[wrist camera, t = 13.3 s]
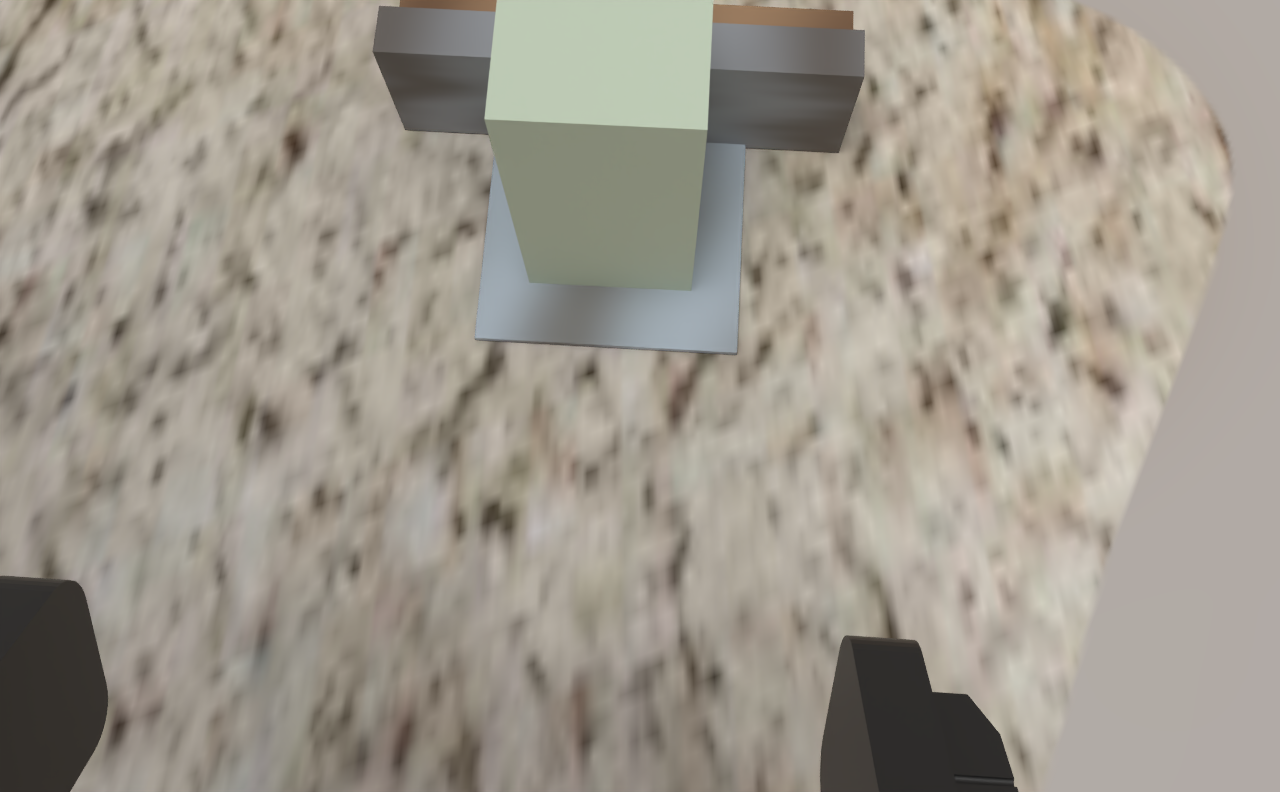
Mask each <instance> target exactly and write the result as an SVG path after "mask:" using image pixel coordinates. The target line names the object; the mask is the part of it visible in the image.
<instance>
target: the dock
mask: <svg viewBox="0 0 1280 792" xmlns="http://www.w3.org/2000/svg"><path fill="white" fill-rule="evenodd" d="M496 3H497V0H400V7H390V6H379V11H378V18H377V25H376V32H375V39H374V46H373V53H374V56H375V58H376V61H377V63H378V65H379V68H380V70H381V73H382V75H383V77H384V80H385V82H386V85H387V87H388V89H389V92H390V94H391V97H392V99H393V101H394V104H395V106H396V109H397V111H398V113H399V116H400V118H401V121H402V123H403V125H404V128H405V130H419V131H438V132H457V133H476V134H488V131H487V127H486V123H485V120H484V118H485V108H486V99H487V89H488V80H489V70H490V61H491V51H492V42H493V32H494V23H495V13H496ZM864 51H865V30H853V11H838V10H818V9H798V8H778V7H758V6H737V5H717V4H713V20H712V42H711V64H710V86H709V108H708V130H707V140H706V150H705V160H704V170H703V179H702V189H701V199H700V209H699V219H698V229H697V239H696V248H695V258H694V268H693V278H692V288H691V291H682V290H662V289H643V288H623V287H603V286H584V285H564V284H544V283H529V279H528V275H527V272H526V268H525V264H524V261H523V257H522V254H521V250H520V246H519V243H518V239H517V236H516V232H515V228H514V225H513V221H512V217H511V214H510V210H509V207H508V203H507V199H506V196H505V192H504V189H503V185H502V181H501V178H500V174H499V170H498V167H497V163H496V160H495V156H494V161H493V171H492V180H491V189H490V199H489V208H488V217H487V227H486V236H485V245H484V255H483V264H482V273H481V283H480V292H479V301H478V311H477V320H476V329H475V340H486V341H504V342H521V343H539V344H556V345H574V346H591V347H609V348H626V349H644V350H662V351H679V352H697V353H714V354H732V355H737V339H738V315H739V291H740V266H741V242H742V218H743V194H744V169H745V148H760V149H779V150H798V151H817V152H836V153H839V150H840V147H841V144H842V141H843V138H844V135H845V132H846V129H847V126H848V123H849V120H850V117H851V114H852V111H853V108H854V105H855V102H856V100H857V97H858V94H859V91H860V88H861V85H862V82H863V79H864Z"/></svg>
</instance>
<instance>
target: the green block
mask: <svg viewBox="0 0 1280 792" xmlns="http://www.w3.org/2000/svg"><path fill="white" fill-rule="evenodd" d="M712 20H713V0H497V3H496V13H495V23H494V32H493V42H492V51H491V61H490V70H489V80H488V89H487V99H486V108H485V118H484V120H485V123H486V127H487V131H488V134H489V138H490V142H491V145H492V149H493V152H494V156H495V160H496V163H497V167H498V170H499V174H500V178H501V181H502V185H503V189H504V192H505V196H506V199H507V203H508V207H509V210H510V214H511V217H512V221H513V225H514V228H515V232H516V236H517V239H518V243H519V246H520V250H521V254H522V257H523V261H524V264H525V268H526V272H527V275H528V279H529V283H544V284H564V285H584V286H603V287H623V288H643V289H662V290H682V291H691V288H692V278H693V268H694V258H695V248H696V239H697V229H698V219H699V209H700V199H701V189H702V179H703V170H704V160H705V150H706V140H707V130H708V108H709V86H710V64H711V42H712Z"/></svg>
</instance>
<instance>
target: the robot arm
mask: <svg viewBox="0 0 1280 792" xmlns="http://www.w3.org/2000/svg"><path fill="white" fill-rule="evenodd" d="M107 707H108V690H107V685H106V680H105V676H104V672H103V668H102V663H101V659H100V655H99V651H98V647H97V642H96V638H95V634H94V630H93V626H92V621H91V617H90V613H89V609H88V605H87V600H86V597H85V594H84V591H83V589H82V587H81V586H80V585H79V584H78V583H77V582H75V581H71V580H58V579H43V578H29V577H14V576H0V792H70V791H71V789H72V787H73V786H74V784H75V782H76V781H77V779H78V777H79V776H80V774H81V772H82V771H83V769H84V767H85V766H86V764H87V762H88V761H89V759H90V757H91V756H92V754H93V752H94V750H95V748H96V747H97V745H98V742H99V740H100V738H101V735H102V732H103V728H104V725H105V720H106V715H107ZM820 785H821V792H1018V789H1017V787H1014V777H1013V774H1012V770H1011V767H1010V764H1009V761H1008V758H1007V755H1006V752H1005V748H1004V745H1003V742H1002V739H1001V736H1000V734H999V732H998V731H997V730H996V729H995V728H994V726H993V725H992V724H991V723H990V721H989V720H988V719H987V718H986V717H985V715H984V714H983V713H982V712H981V710H980V709H979V708H978V707H977V706H976V704H975V703H974V702H973V701H972V699H971V698H970V697H969V696H968V695H967V694H953V693H938V692H932V689H931V685H930V681H929V678H928V674H927V670H926V666H925V662H924V658H923V655H922V651H921V648H920V646H919V644H918V642H917V641H915V640H906V639H891V638H876V637H862V636H845V637H844V638H843V640H842V643H841V646H840V651H839V656H838V661H837V666H836V672H835V677H834V682H833V687H832V693H831V698H830V703H829V708H828V714H827V719H826V724H825V730H824V735H823V741H822V749H821V765H820Z"/></svg>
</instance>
